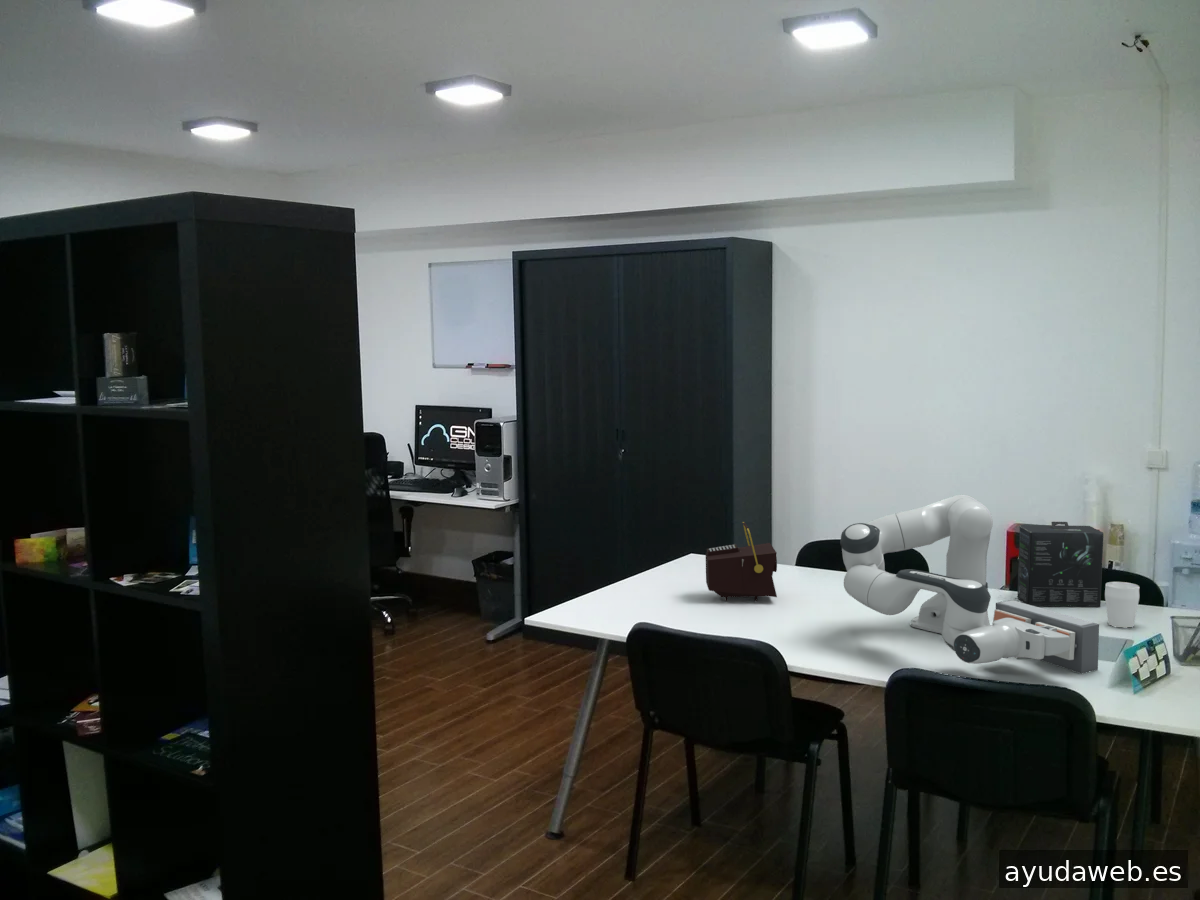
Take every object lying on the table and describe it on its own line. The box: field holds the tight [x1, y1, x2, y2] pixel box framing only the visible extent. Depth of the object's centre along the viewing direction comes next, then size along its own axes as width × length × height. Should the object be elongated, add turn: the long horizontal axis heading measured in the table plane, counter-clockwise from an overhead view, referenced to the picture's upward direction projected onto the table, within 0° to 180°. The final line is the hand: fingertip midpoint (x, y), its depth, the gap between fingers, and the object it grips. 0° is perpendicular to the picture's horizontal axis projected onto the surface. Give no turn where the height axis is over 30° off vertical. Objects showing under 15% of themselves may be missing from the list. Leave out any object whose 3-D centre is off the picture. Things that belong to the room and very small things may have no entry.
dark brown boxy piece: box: [705, 521, 778, 602], centre depth 339 cm, size 16×23×25 cm
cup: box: [1104, 581, 1140, 629], centre depth 298 cm, size 9×9×12 cm
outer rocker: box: [1035, 622, 1077, 660], centre depth 264 cm, size 3×12×7 cm, turn 26°
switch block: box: [995, 599, 1100, 675], centre depth 274 cm, size 12×28×12 cm, turn 26°
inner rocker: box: [992, 609, 1031, 624], centre depth 276 cm, size 3×12×7 cm, turn 26°
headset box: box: [1017, 521, 1104, 608], centre depth 324 cm, size 22×12×26 cm, turn 84°
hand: (1052, 629), depth 263 cm, fingers closed, pressing on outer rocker
